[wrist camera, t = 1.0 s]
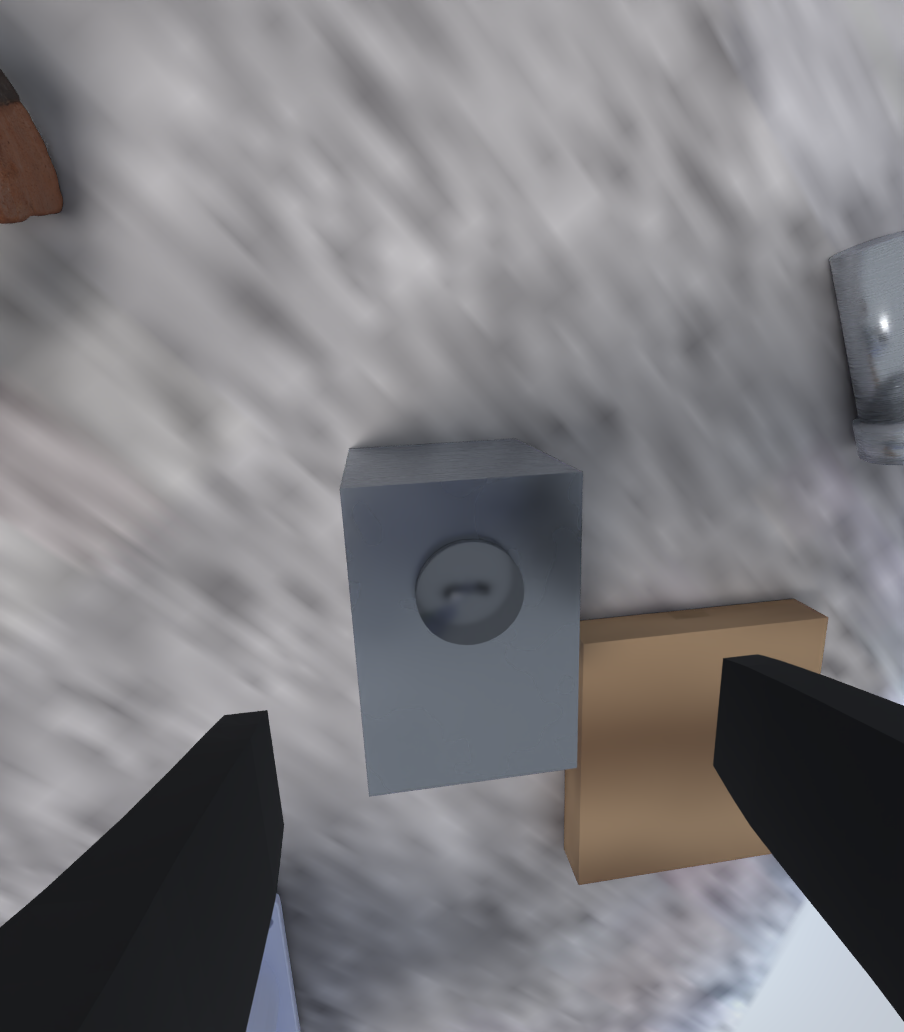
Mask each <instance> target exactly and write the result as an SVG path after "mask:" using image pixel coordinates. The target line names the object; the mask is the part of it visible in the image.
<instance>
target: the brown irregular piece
mask: <svg viewBox="0 0 904 1032" xmlns="http://www.w3.org/2000/svg"><path fill="white" fill-rule="evenodd" d="M62 206H63V198H62V195H61V192H60V188H59V183H58V178H57V174H56V171H55V169H54V166H53V164H52V162H51V159H50V157H49V155H48V152H47V149H46V146H45V144H44V142H43V140H42V138H41V136H40V134H39V132H38V131H37V129H36V127H35V125H34V123H33V122H32V119H31V117H30V115H29V113H28V112H27V110H26V109H25V108H24V106H23V105H22V103H21V102H20V99H19V96H18V94H17V92H16V91H15V89H14V87H13V86H12V84H11V83H10V82H9V80H8V79H7V77H6V76H5V75H4V73H3V72H2V71H1V69H0V223H1V224H7V223H17V222H22V221H25V220H27V219H28V218H29V217H30V216H43V215H48V214H56V213H59V212H61V210H62Z"/></svg>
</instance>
